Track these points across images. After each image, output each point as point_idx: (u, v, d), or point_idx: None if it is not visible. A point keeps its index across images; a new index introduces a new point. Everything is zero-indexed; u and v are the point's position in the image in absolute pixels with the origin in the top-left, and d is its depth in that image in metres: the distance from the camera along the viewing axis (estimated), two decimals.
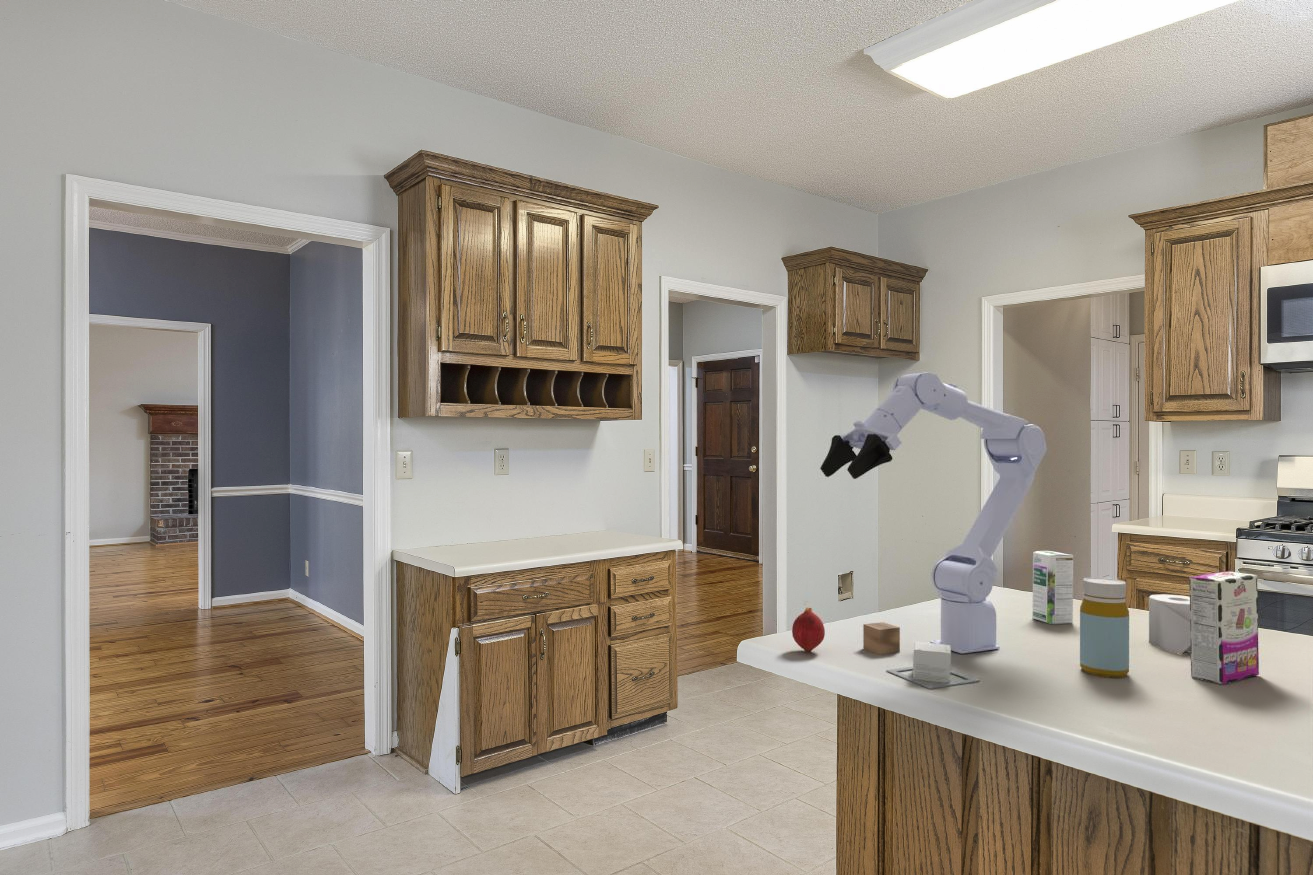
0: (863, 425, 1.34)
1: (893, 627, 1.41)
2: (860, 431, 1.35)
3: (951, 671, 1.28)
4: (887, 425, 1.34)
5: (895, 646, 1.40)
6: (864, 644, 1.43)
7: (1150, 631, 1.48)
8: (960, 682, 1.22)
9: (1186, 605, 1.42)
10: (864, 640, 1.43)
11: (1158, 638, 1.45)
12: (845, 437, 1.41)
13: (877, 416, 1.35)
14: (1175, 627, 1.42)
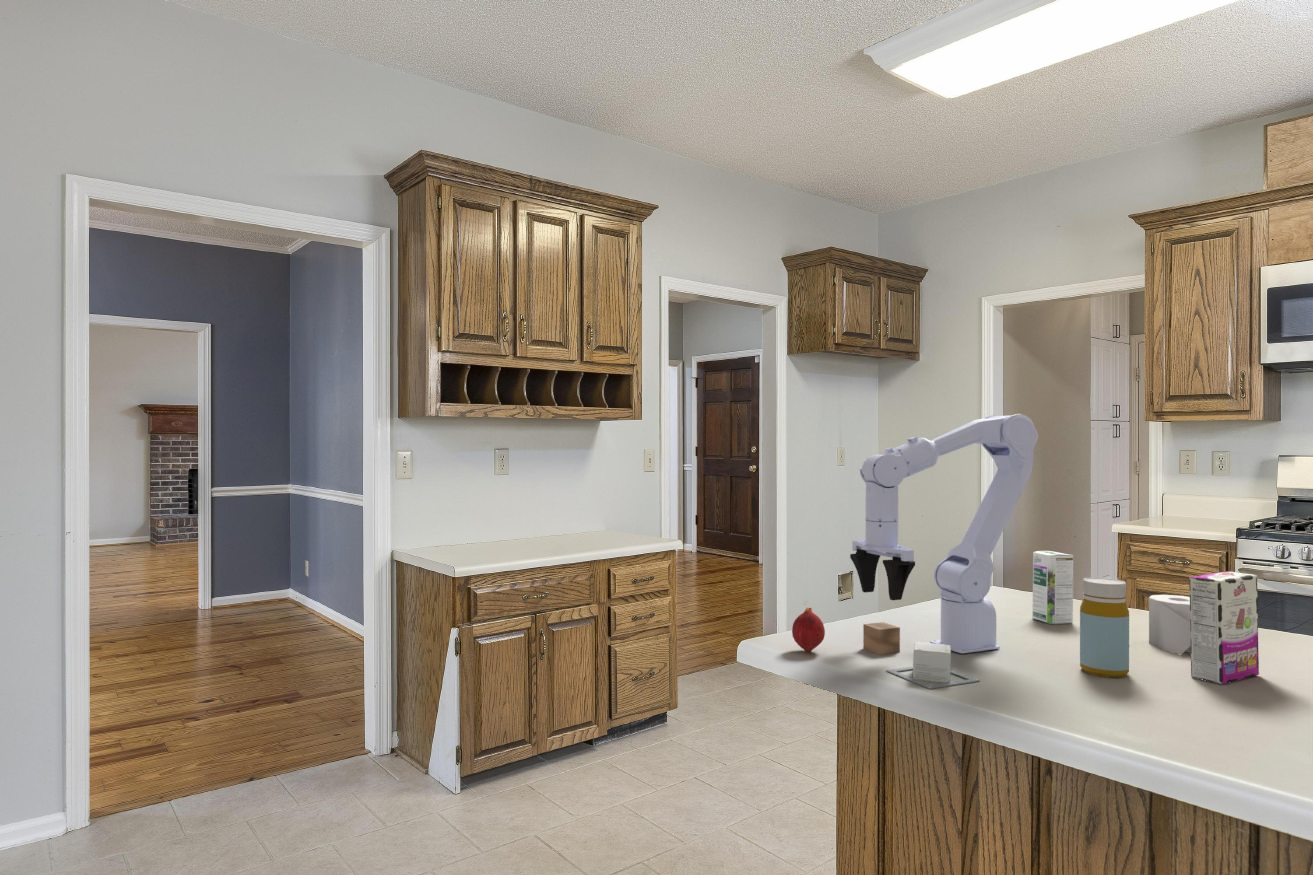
0: (871, 548, 1.40)
1: (893, 627, 1.41)
2: None
3: (951, 671, 1.28)
4: (888, 532, 1.39)
5: (895, 646, 1.40)
6: (864, 644, 1.43)
7: (1150, 631, 1.47)
8: (960, 682, 1.22)
9: (1186, 605, 1.42)
10: (864, 640, 1.43)
11: (1158, 638, 1.45)
12: (858, 545, 1.46)
13: (874, 530, 1.40)
14: (1175, 627, 1.41)
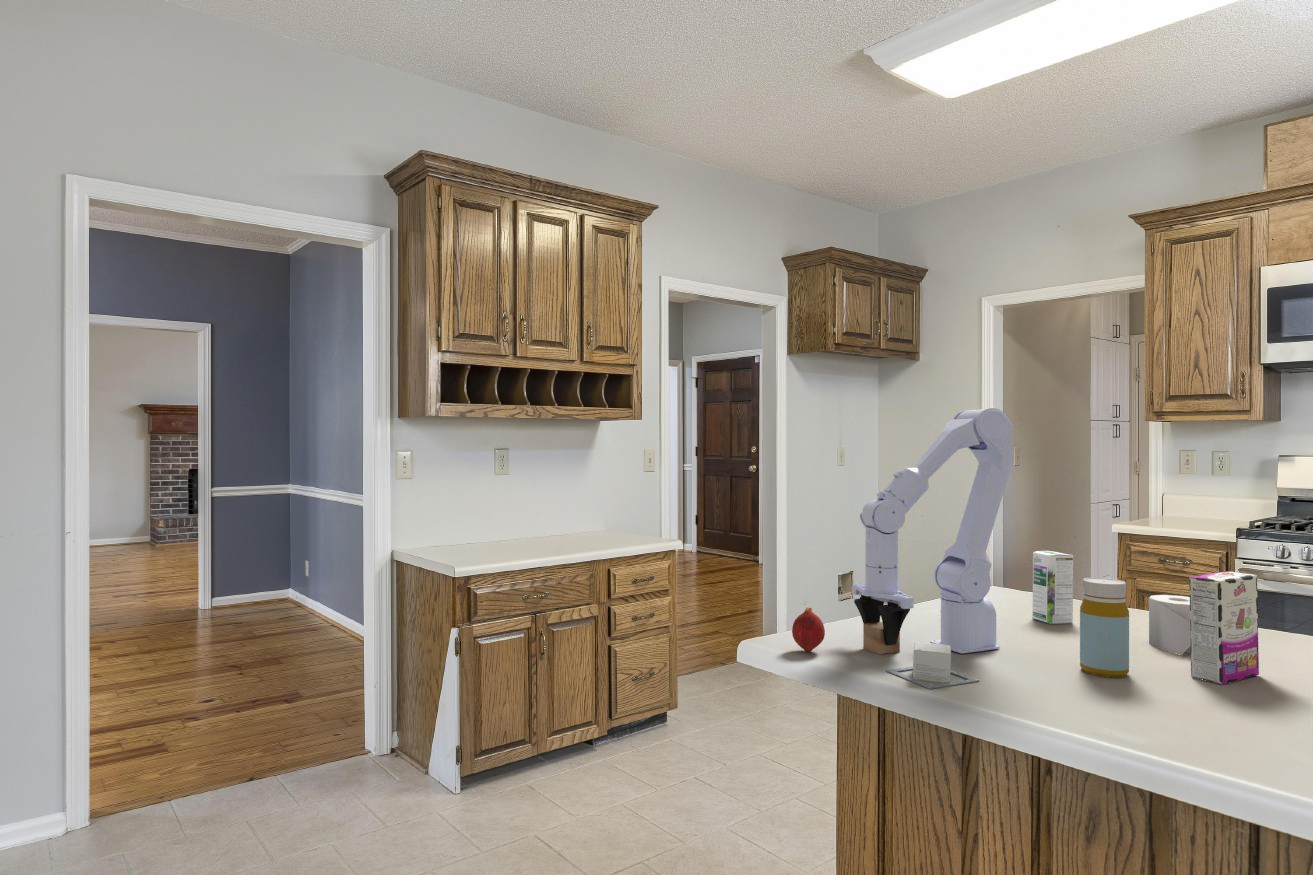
0: (870, 594, 1.40)
1: None
2: None
3: (951, 671, 1.28)
4: (888, 579, 1.39)
5: (895, 645, 1.40)
6: (864, 643, 1.43)
7: (1150, 632, 1.47)
8: (960, 682, 1.22)
9: (1186, 606, 1.42)
10: (864, 639, 1.43)
11: (1158, 638, 1.44)
12: (858, 589, 1.46)
13: (874, 576, 1.40)
14: (1175, 628, 1.41)
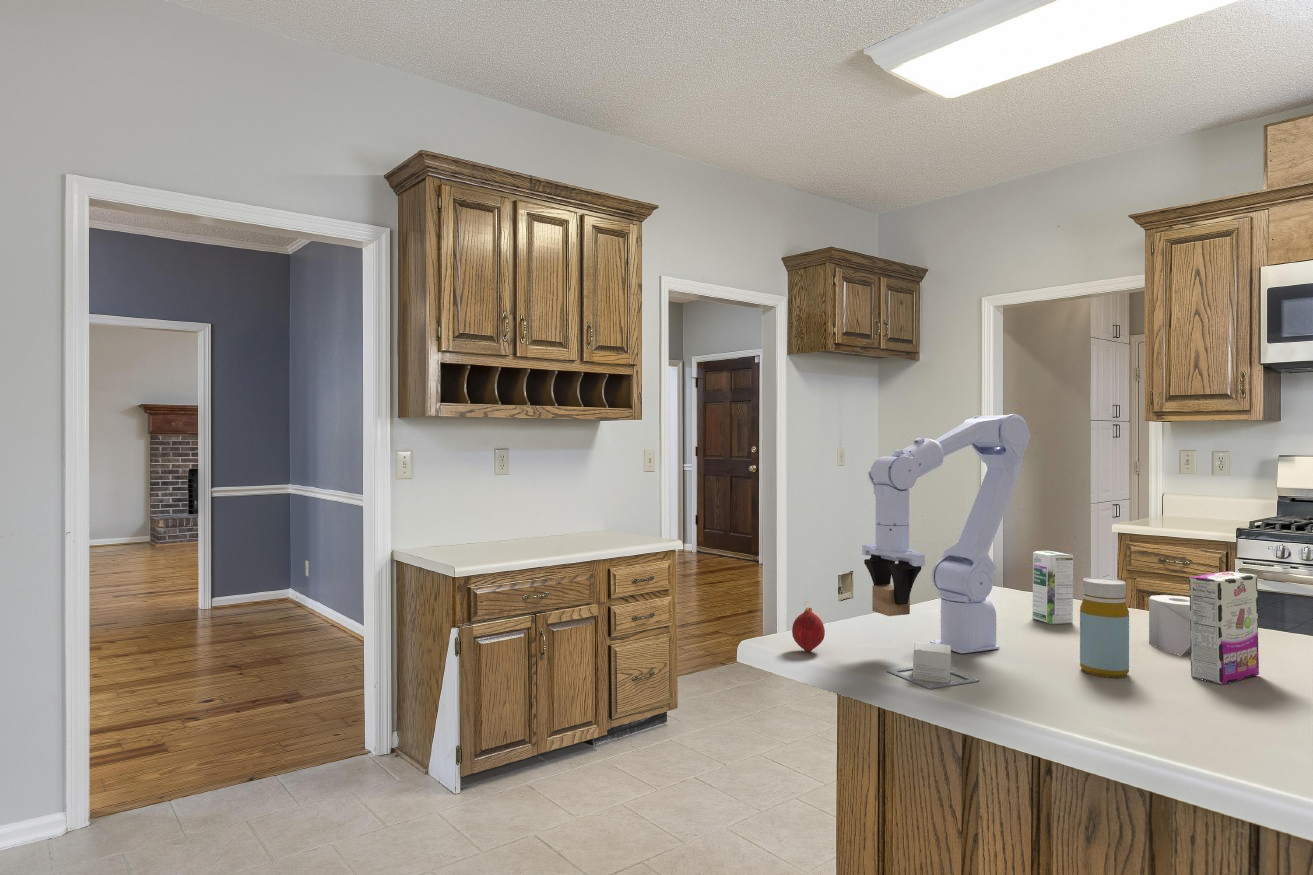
0: (881, 552, 1.36)
1: None
2: None
3: (951, 671, 1.28)
4: (898, 537, 1.35)
5: (905, 607, 1.36)
6: (873, 606, 1.39)
7: (1150, 632, 1.47)
8: (960, 682, 1.22)
9: (1186, 606, 1.41)
10: (873, 602, 1.39)
11: (1158, 639, 1.44)
12: (868, 550, 1.43)
13: (884, 534, 1.36)
14: (1175, 628, 1.41)
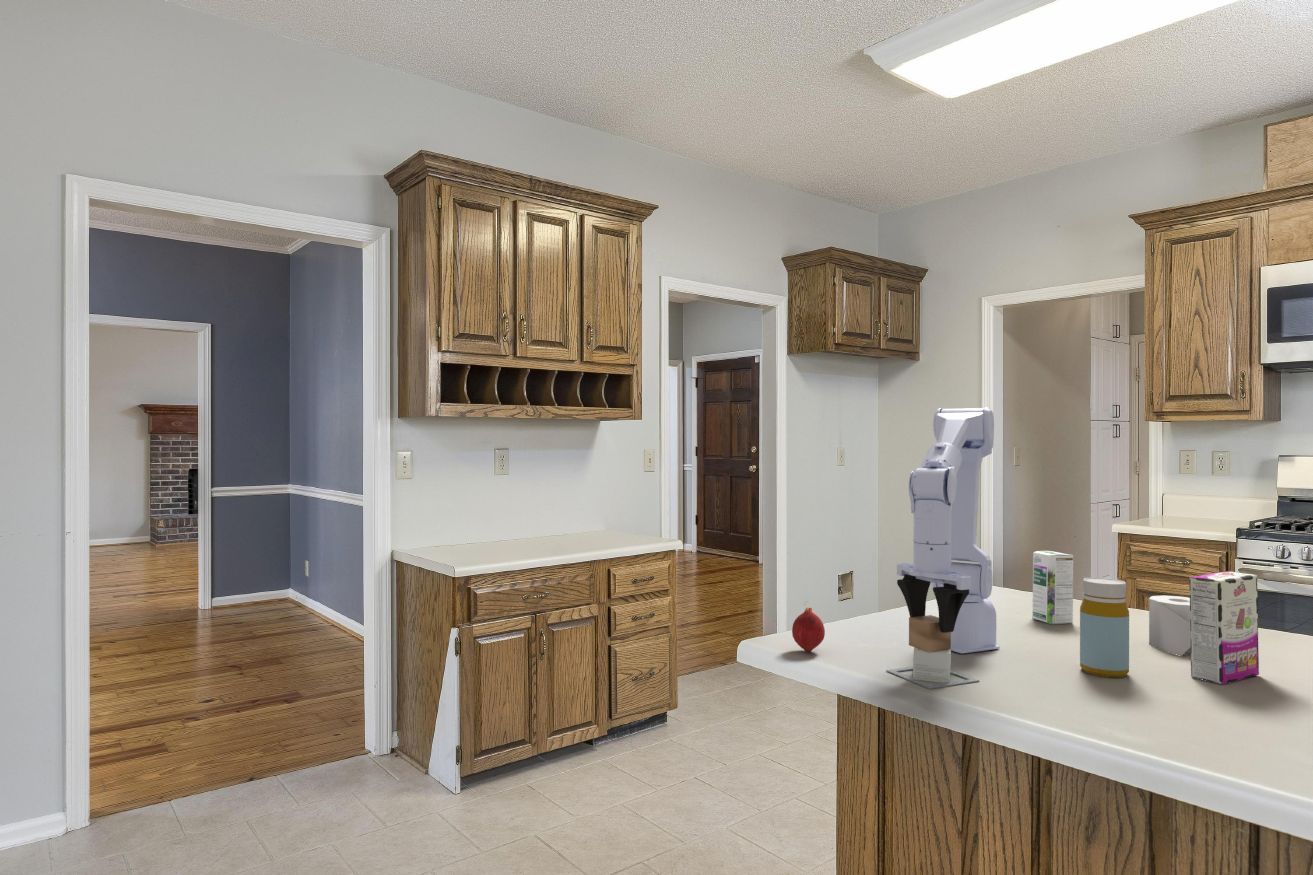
0: (921, 574, 1.24)
1: None
2: None
3: (951, 671, 1.28)
4: (940, 556, 1.23)
5: (945, 641, 1.24)
6: (910, 640, 1.27)
7: (1150, 632, 1.47)
8: (960, 682, 1.22)
9: (1186, 606, 1.41)
10: (910, 635, 1.27)
11: (1158, 639, 1.44)
12: (904, 570, 1.31)
13: (925, 554, 1.24)
14: (1175, 628, 1.41)
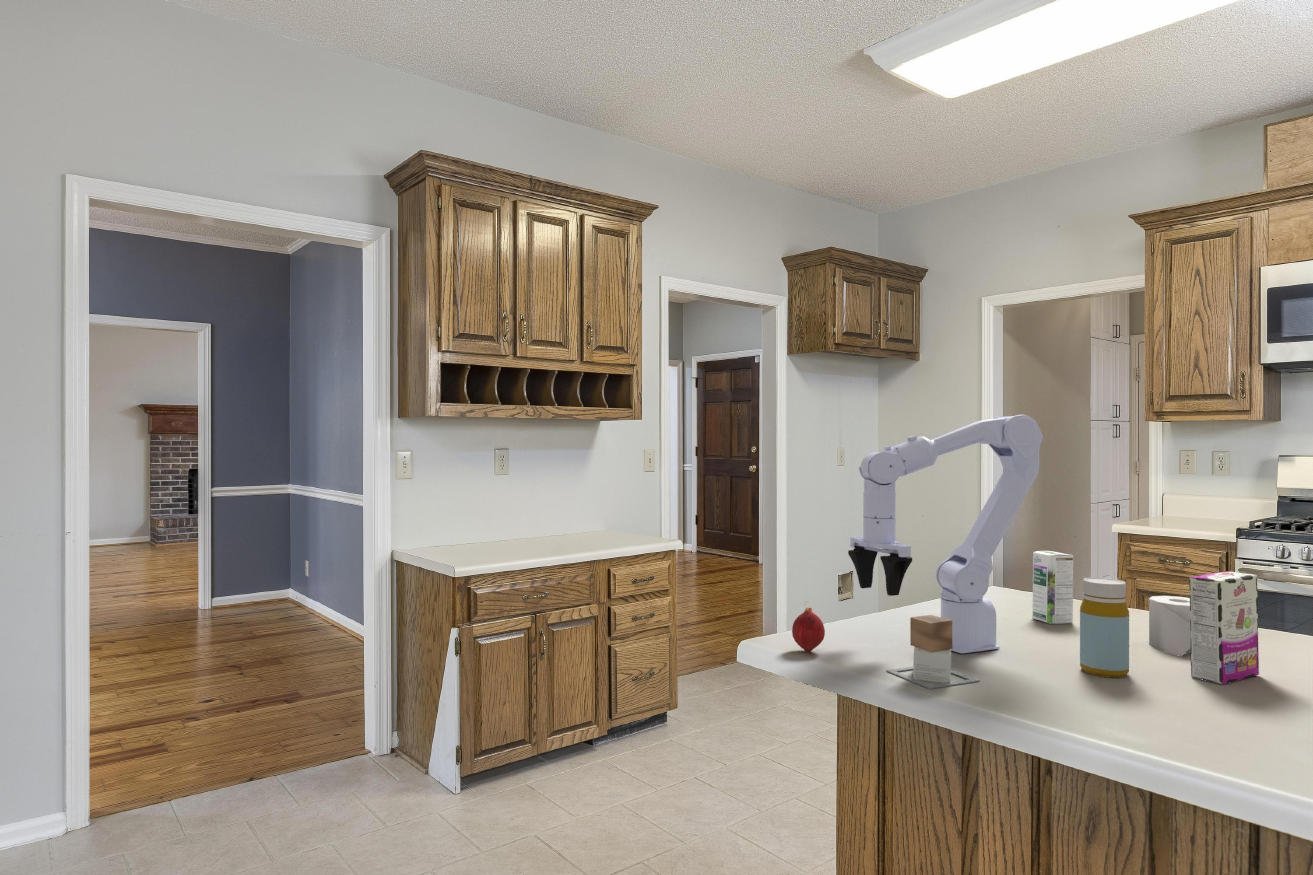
0: (868, 544, 1.42)
1: (945, 620, 1.25)
2: None
3: (951, 671, 1.28)
4: (885, 529, 1.41)
5: (947, 641, 1.24)
6: (911, 640, 1.27)
7: (1150, 633, 1.46)
8: (960, 682, 1.22)
9: (1187, 607, 1.41)
10: (911, 635, 1.27)
11: (1158, 640, 1.43)
12: (856, 542, 1.49)
13: (872, 527, 1.42)
14: (1175, 629, 1.40)
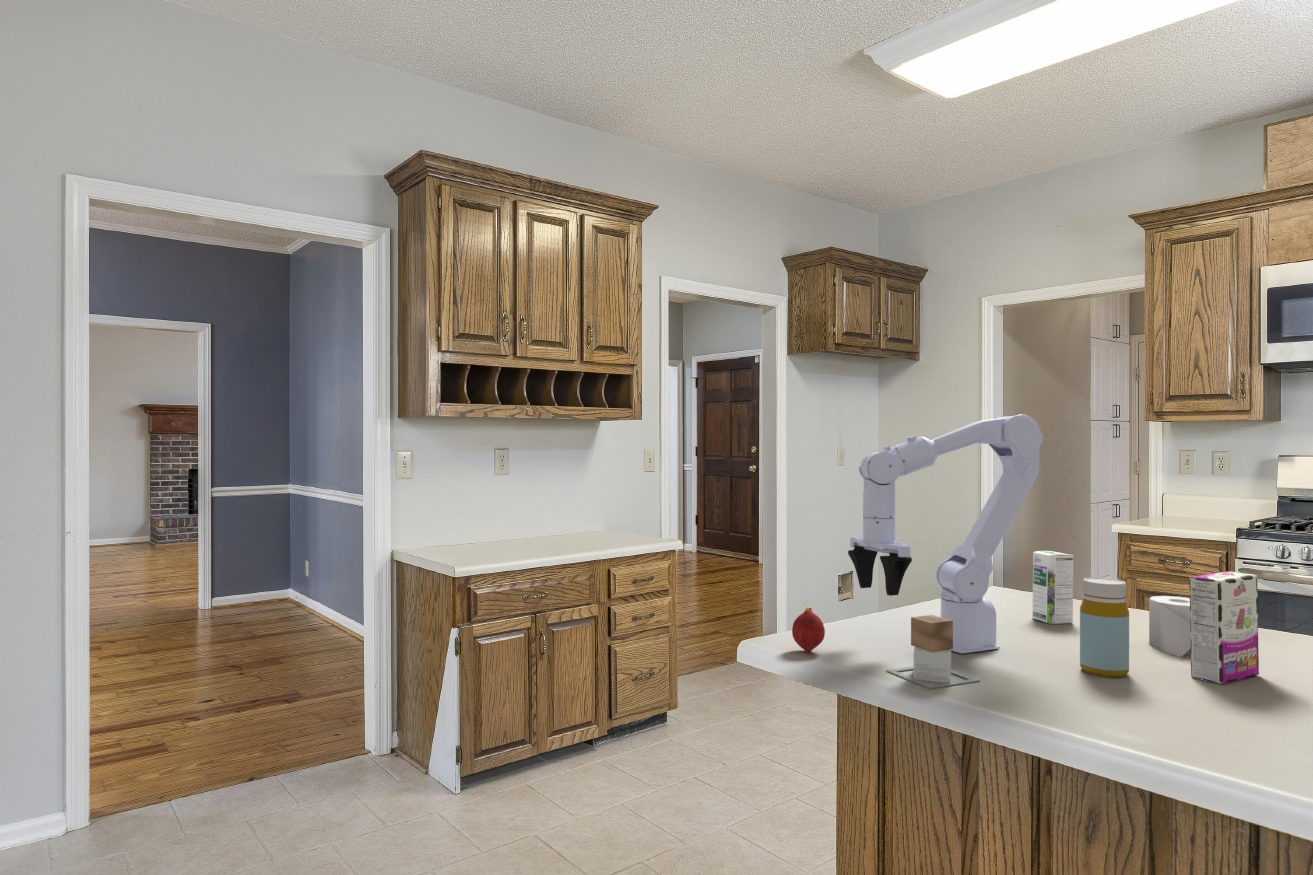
0: (868, 544, 1.42)
1: (945, 620, 1.25)
2: None
3: (951, 671, 1.28)
4: (885, 529, 1.41)
5: (948, 641, 1.24)
6: (912, 640, 1.27)
7: (1150, 633, 1.46)
8: (960, 682, 1.22)
9: (1187, 607, 1.40)
10: (912, 635, 1.27)
11: (1158, 640, 1.43)
12: (856, 542, 1.49)
13: (872, 526, 1.42)
14: (1175, 629, 1.40)
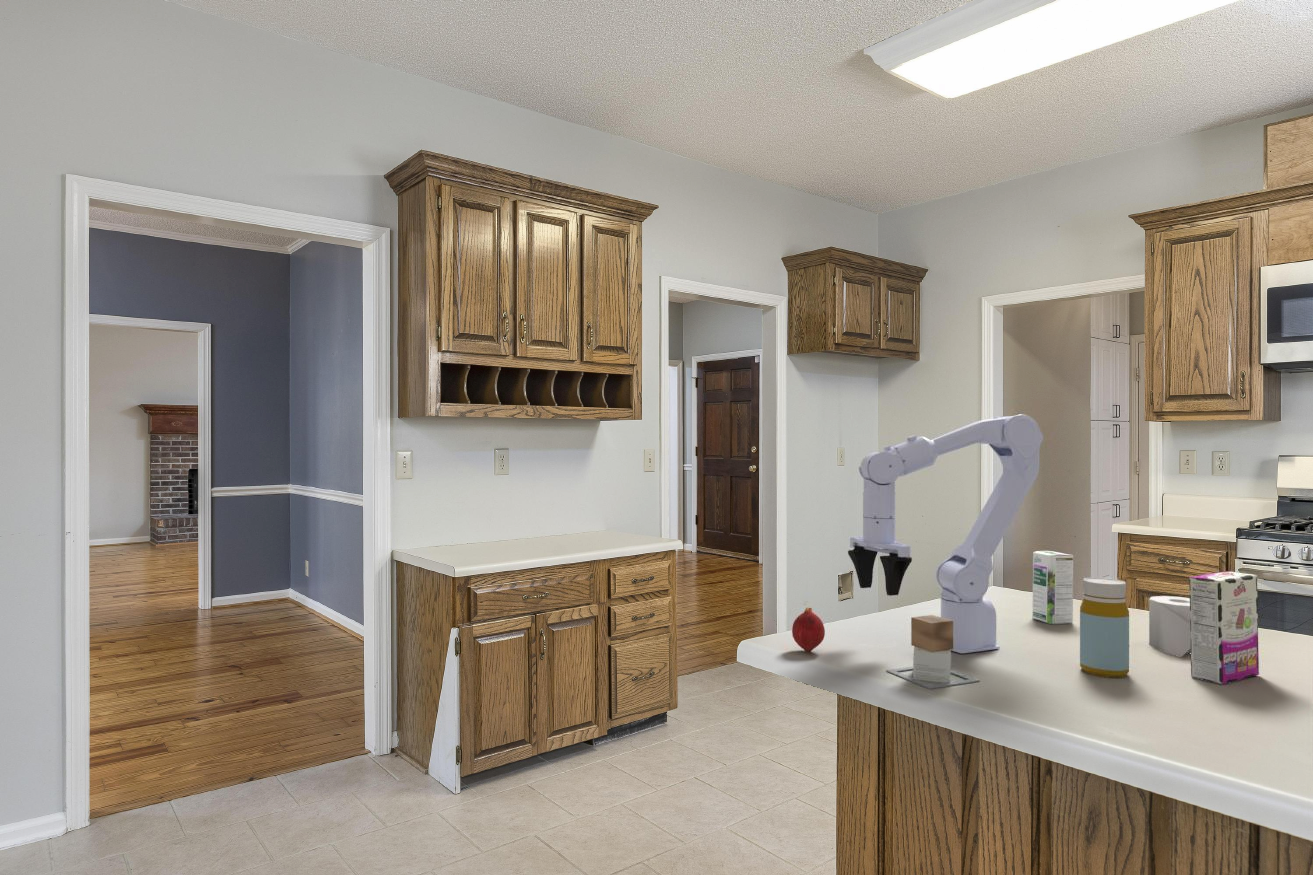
0: (868, 544, 1.42)
1: (946, 620, 1.25)
2: None
3: (951, 671, 1.28)
4: (885, 529, 1.41)
5: (948, 641, 1.24)
6: (912, 640, 1.27)
7: (1150, 633, 1.46)
8: (960, 682, 1.22)
9: (1187, 607, 1.40)
10: (912, 635, 1.27)
11: (1159, 640, 1.43)
12: (856, 542, 1.49)
13: (872, 526, 1.42)
14: (1176, 629, 1.40)
